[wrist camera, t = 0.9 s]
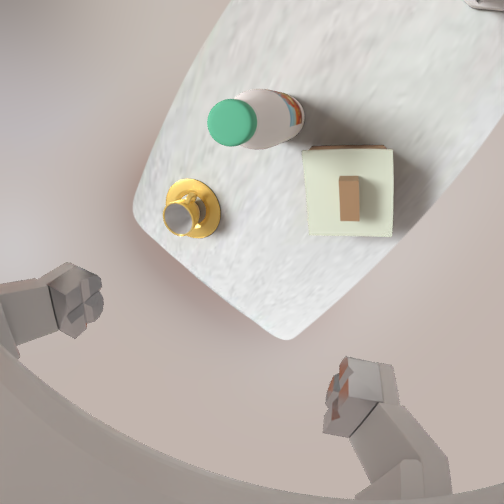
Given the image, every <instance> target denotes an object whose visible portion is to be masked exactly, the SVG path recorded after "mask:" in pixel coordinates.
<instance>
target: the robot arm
mask: <svg viewBox="0 0 504 504" xmlns="http://www.w3.org/2000/svg"><path fill="white" fill-rule="evenodd" d="M464 1H465V2H466V3H467V4H468V5H469V6H470V7H472V8H477V9H489V10H497V11H504V0H477V1H478V2H479V3H478V2H477V1H476V0H464ZM101 287H102V283H101V278H100V277H99V276H98V275H96V274H94V273H91V272H89V271H87V270H85V269H83V268H81V267H78V266H76V265H74V264H72V263H68V262H66V263H64V264H63V265H60V266H59V267H57V268H56V269H54V270H52V271H50V272H49V273H47V274H45V275H44V276H42V277H41V278H39V279H35V278H33V279H27V280H21V281H15V282H9V283H3V284H0V504H504V483H501V484H498V485H494V486H491V487H486V488H482V489H478V490H473V491H468V492H463V493H458V494H452V485H451V477H450V470H449V464H448V458H447V456H446V455H445V454H444V453H443V451H442V450H441V449H440V448H439V447H438V445H437V444H436V443H435V442H434V441H433V439H432V438H431V437H430V436H429V435H428V433H427V432H426V431H425V430H424V429H423V427H422V426H421V425H420V424H419V423H418V421H417V420H416V419H415V418H414V417H413V416H412V414H411V413H410V412H409V411H408V410H407V408H406V407H405V406H401V405H400V401H399V395H398V390H397V384H396V378H395V373H394V368H393V366H392V365H389V364H384V363H378V362H377V363H375V362H370V361H366V360H361V359H356V358H352V357H347V356H345V357H344V359H343V360H342V362H341V364H340V366H339V367H340V368H339V373H338V374H336V375H334V376H333V378H332V380H331V383H330V385H329V388H328V391H327V395H326V402H325V404H326V405H327V407H328V408H329V409H328V410H327V412H326V414H325V415H324V424H323V433H326V434H331V435H336V436H342V437H347V438H349V441H350V443H351V445H352V447H353V449H354V451H355V453H356V454H357V457H358V458H359V460H360V462H361V464H362V466H363V468H364V470H365V472H366V474H367V476H368V478H369V480H370V482H371V485H370V486H368V487H367V488H365V489H364V490H362V491H361V492H360V493H358V494H357V495H355V499H340V498H329V497H320V496H313V495H306V494H299V493H293V492H288V491H282V490H277V489H272V488H268V487H263V486H259V485H255V484H251V483H247V482H243V481H239V480H236V479H233V478H229V477H226V476H223V475H220V474H216V473H214V472H211V471H208V470H205V469H202V468H199V467H196V466H194V465H191V464H188V463H186V462H183V461H181V460H178V459H176V458H173V457H171V456H169V455H166V454H164V453H162V452H159V451H157V450H155V449H153V448H151V447H149V446H147V445H145V444H143V443H141V442H138V441H137V440H135V439H133V438H131V437H129V436H127V435H125V434H123V433H121V432H119V431H117V430H116V429H114V428H112V427H111V426H109V425H107V424H105V423H104V422H102V421H100V420H98V419H97V418H95V417H93V416H92V415H90V414H89V413H87V412H86V411H84V410H83V409H81V408H80V407H78V406H76V405H75V404H74V403H72V402H71V401H69V400H68V399H66V398H65V397H64V396H62V395H61V394H59V393H58V392H57V391H55V390H54V389H53V388H51V387H50V386H49V385H47V384H46V383H45V382H44V381H42V380H41V379H40V378H39V377H37V376H36V375H35V374H34V373H32V372H31V371H30V370H29V369H28V368H26V367H25V366H24V365H23V364H22V363H21V362H20V361H18V359H19V358H20V353H19V351H18V349H17V345H20V344H23V343H26V342H28V341H31V340H34V339H36V338H39V337H42V336H45V335H48V334H51V333H53V332H56V331H58V329H59V330H60V331H62V332H64V333H65V334H67V335H69V336H71V337H72V338H74V339H75V338H77V337H78V336H79V335H80V334H81V333H82V332H83V331H84V330H86V328H87V323H91V322H94V321H96V320H97V319H98V318H99V317H100V315H101V313H102V311H103V305H104V302H103V297H102V295H101V293H100V289H101Z"/></svg>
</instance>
